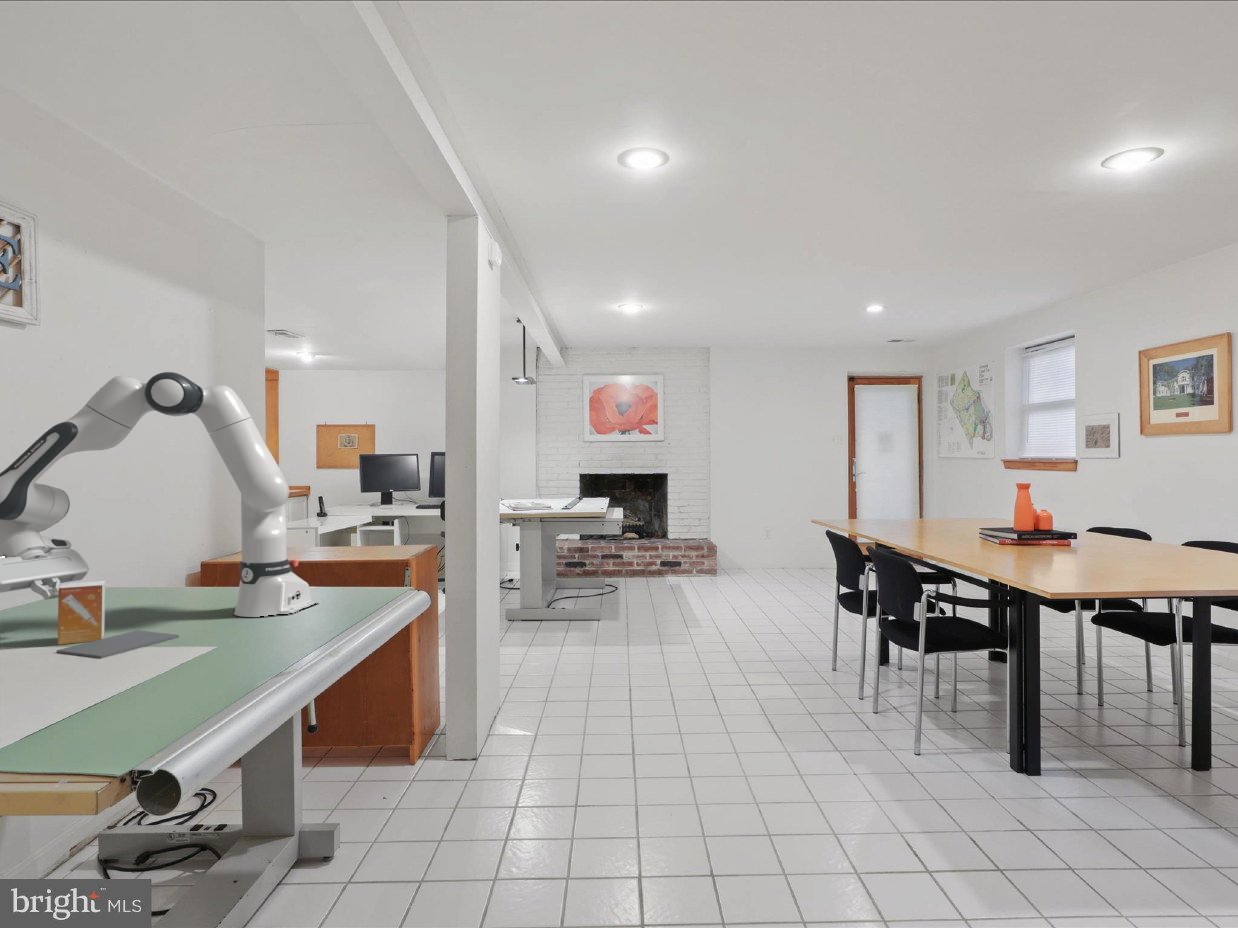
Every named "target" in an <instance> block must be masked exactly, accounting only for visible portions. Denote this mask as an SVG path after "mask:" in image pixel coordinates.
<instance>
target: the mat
mask: <svg viewBox="0 0 1238 928" xmlns="http://www.w3.org/2000/svg"><path fill="white" fill-rule="evenodd" d="M179 637H180V635H179V634H174V633H165V632H157V631H155V632H154V631H145V630H132V631H130V632H126V633H122V634H121V633H120V634H117V635H114V636H110V637H105V638H104V637H103V638H102V639H100V640H96V641H91V642H83V643H81V644H77V645H73V646H69V647H65V648H61V649H57V650H56V653H57V652H59V653H58V654H63V653H67V654H66V655H71V654H72V656H79V655H81V656H80V657H87V656H89V658H97V659H104V658H107V656H108V657H111V656H114V655H118V653H119V654H121V653H126V652H129V651H133V650H137V649H139V648H145V647H147V646H151V645H154V644H159V643H161V642H166V641H170V640H173V639H178V638H179Z"/></svg>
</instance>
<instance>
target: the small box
mask: <svg viewBox="0 0 1238 928" xmlns="http://www.w3.org/2000/svg"><path fill="white" fill-rule="evenodd" d="M105 597H106V581H105V580H99V581H98V580H97V581H81V582H80V581H79V582H71V583H70V582H67V583H61V584H60V585H59V593H58V598H57V599H58V600H57V603H58V605H57V645H59V646H60V645H67V644H69V645H70V644H79V643H88V642H92V641H96V640H100V639H104V636H105V611H106V610H105V609H106V607H105V605H106V604H105V603H106V601H105V600H106V599H105Z"/></svg>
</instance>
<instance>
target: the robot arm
mask: <svg viewBox="0 0 1238 928" xmlns="http://www.w3.org/2000/svg"><path fill="white" fill-rule="evenodd" d="M152 411H156V412H158V413H161V414H163V415H165V416H169V417H183V416H187V415H189V414H193V415H194V416H196V417H197V418H198V419H200V421H201V423H202V424H203V425H204V428H205V429H206V431H207V434H208V436H209V437H210V439H211V441H212V442H213V445H214V447H215V448H216V450H217V452H218V454H219V455H220V457H221V459H222V461H223V463H224V465H225V467H226V469H227V470H228V472H229V474H230V476H231V477H232V479H233V481H234V483H235V484H236V486H237V488H238V490H239V492H240V496H241V497H240V501H241V502H240V506H241V507H240V508H241V510H240V511H241V515H240V517H241V561H240V562H239V576H240V581H239V587H238V594H237V602H236V605H235V607H234V613H233V615H235V616H238V617H244V618H261V617H260V616H264V617H269V616H268V615H274V616H277V615H276V614H281V613H290V612H294V611H295V610H297V609H300V608H301V607H304V606H307V605H308V604H311V603H314V602H310V601H313V600H310V599H311V598H312V597H311V590H310V589H311V588H310V585H309V583H308V582H307V581H305V580H304V579H302V578H301V577H299V576H298V575H297V574H296V573H294V572H293V570H292V567H298V566H299V560H298V559H293V558H290V560H289V559H288V528H287V515H286V514H287V512H286V511H287V509H286V502H287V501H288V498H289V496H290V488H289V484H288V482H287V479H286V478H285V476H284V474H283V472H282V470H281V469H280V467H279V465H278V464H277V462H276V460H275V458H274V456H273V454H272V452H271V451H270V450H269V448H268V446H267V444H266V443H265V440H264V439H263V436H262V435H261V432H260V430H259V429H258V427H257V426H256V423H255V421H254V419H253V418H252V415H251V414H250V412H249V411H248V408H247V407H246V405H245V404H244V403H243V401H242V400H241V398H240V397H239V395H238V394H237V393H236V392H235V391H234V389H233V388H231V387H230V386H228V385H223V384H218V385H217V384H216V385H211V386H207V387H201V386H200V385H198V384H196V383H195V382H194V380H192V379H191V378H190V377H188V376H186V375H184V374H182V373H179V372H178V373H177V372H173V371H163V372H160V373H156V374H155V375H153V376H152V377H151V378H149V380H148V381H147V382H144V381H141V380H139V379H137V378H136V377H131V376H129V375H117V376H114V377H113V378H111V379H110V380H108V381H107V382H106V383H105V384H103V386H102V387H100V388H99V389H98V390H97V391H96V392H95V393H94V394H93V395H92V396H91V398H89V400H88V401H87V402H86V403H85V404H84V406H83V407H82V408H81V409H79V411H77V413H75V414H74V415H73V416H72V417H69V418H68V419H67V420H65V421H62V422H60V423H57V424H55V425H53V426H52V427H50V428H49V429H48V430H47V431H45V432H44V433H43V434H42V435H40V436H39V437H38V439H36V440H35V441H34V442H33V443H32V444H30V446H29V447H28V448H27V449H25V450H24V452H23V453H21V454H20V455H19V456H18V457H17V458H16V459H15V460H14V461H12V463H11V464H9V465H8V466H7V467H6V468H5V469H4V470H2V471H1V472H0V594H1V593H7V592H12V591H21V590H26V589H31V592H33V593H35V594H38V595H40V596H41V597H42V598H43V600H44V601H46V600H52V599H58V593H59V587H60V586H61V584H66V583H70V582H71V583H72V582H75V581H81V580H83V579H84V578H85V577H86V576H87V574H88V572H89V571H90V567H89V565H88V563H87V561H85V559H84V558H83V557H82V555H81V554H80V553H79V552H78V551H77V550H75V549H73V548H72V546H73V545H72V543H71V541H70V540H68V539H59V538H52V537H47V536H42V535H41V533H40V532H44V531H45V530H47V529H50V528H51V527H52V526H54V525H56V524H58V523H59V522H60V521H62V520H63V519H64V518H65V517H66V516H67V514H68V512H69V510H70V507H71V506H70V504H71V502H70V498H69V495H68V494H67V492H66V491H65V490H63V489H61V488H58V487H55V486H52V485H47V484H43V483H37V481H38V480H39V479H40V478H41V477H42V476H43V475H44V474H45V473H47V471H49V470H50V468H52V467H53V465H55V464H56V463H57V462H58V461H59V460H60V459H62V458H65V456H68V455H71V454H73V453H80V452H90V451H93V452H94V451H104V450H108V449H111V448H114V447H116V446H118V445H119V444H121V443H122V442H123V441H124V440H125V439H126V438H127V437H128V436H129V434H130V433H131V431H132V430H133V428H135V426H136V425H137V424H138V422H139V421H140V420H141V418H143V417H144V416H145V415H146V414H148V413H150V412H152ZM46 586H48V588H49V589H48V588H47V587H46ZM315 599H316V600H318V599H317V598H315ZM307 603H308V604H307Z"/></svg>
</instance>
